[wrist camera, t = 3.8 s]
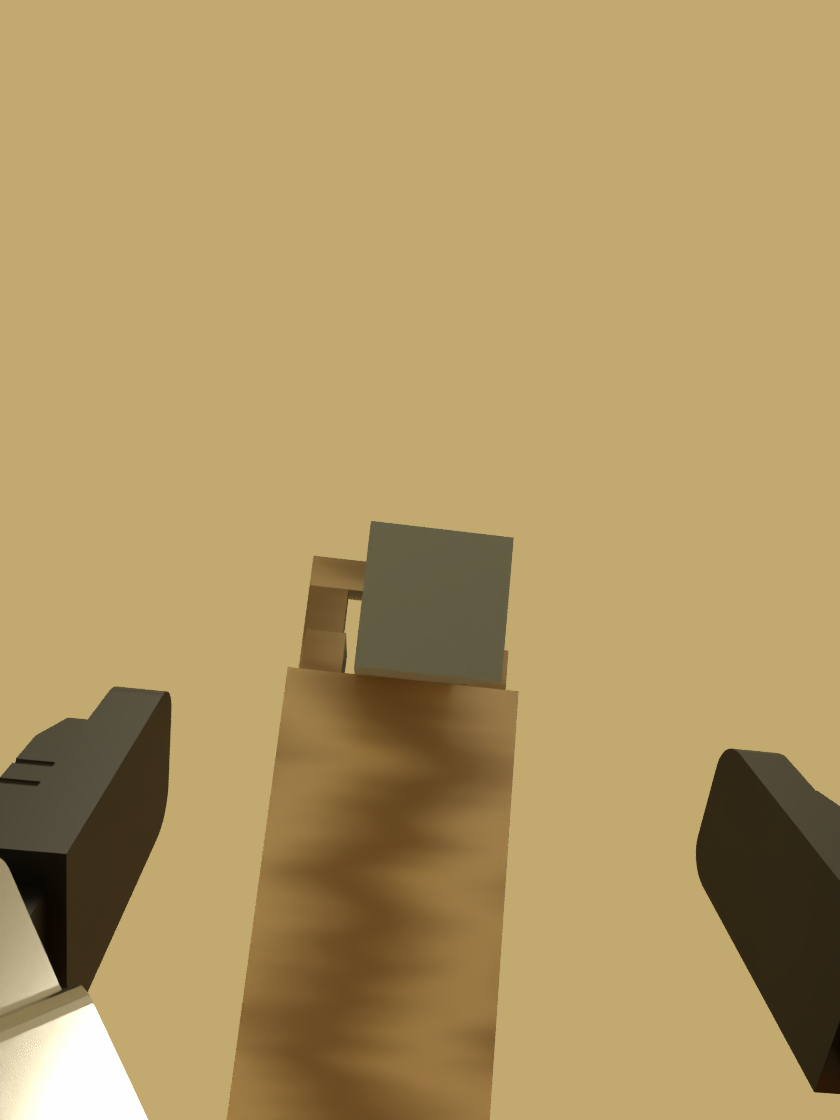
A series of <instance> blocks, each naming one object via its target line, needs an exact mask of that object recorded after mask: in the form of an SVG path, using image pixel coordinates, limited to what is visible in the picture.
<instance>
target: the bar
mask: <svg viewBox="0 0 840 1120" xmlns="http://www.w3.org/2000/svg"><path fill="white" fill-rule="evenodd" d="M512 550H513V538H511V537H503V536H494V535H486V534H476V533H468V532H459V531H451V530H443V529H434V528H426V527H417V526H409V525H400V524H392V523H383V522H375V521H371V526H370V535H369V544H368V552H367V561H366V569H365V578H364V587H363V595H362V604H361V614H360V621H359V630H358V639H357V647H356V656H355V666H354V670H355V674H357V675H367V676H376V677H386V678H395V679H405V680H415V681H424V682H434V683H443V684H453V685H455V684H472V683H489V682H501V681H502V669H503V657H504V645H505V633H506V622H507V609H508V598H509V586H510V585H509V584H510V574H511V562H512Z"/></svg>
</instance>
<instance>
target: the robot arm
mask: <svg viewBox="0 0 840 1120" xmlns="http://www.w3.org/2000/svg"><path fill="white" fill-rule="evenodd" d="M170 728H171V697H170V694H169V692H165V691H155V690H145V689H135V688H125V687H113V688H112V689H111V690H110V691H109V693H107V695H106V696H105V698H104V699H103V700H102V701H101V703H100V704H99V705H98V707H97V708H96V709H95V711H94V712H93V713H92V715H91V716H90V718H89V719H88V720H85V719H76V718H66V719H65V720H63V721H61V722H59V723H57V724H56V725H54V726H52V727H50V728H49V729H47V730H45V731H43V732H41V733H39V734H38V735H36V736H35V737H34V738H33V739H32V740H31V742H30V743H29V744H28V745H27V746H26V748H25V749H24V750H23V751H22V753H20V755H19V756H18V757H17V758H16V762H15V763H12V764H11V765H10V766H9V768H8V769H7V770H6V771H5V772H4V773H3V775H2V776H1V777H0V1120H148V1119H147V1117H146V1115H145V1113H144V1111H143V1109H142V1107H141V1105H140V1102H139V1100H138V1098H137V1096H136V1094H135V1092H134V1089H133V1087H132V1085H131V1083H130V1081H129V1079H128V1077H127V1075H126V1073H125V1070H124V1068H123V1066H122V1064H121V1062H120V1059H119V1057H118V1055H117V1053H116V1051H115V1049H114V1047H113V1044H112V1042H111V1040H110V1038H109V1036H108V1034H107V1032H106V1029H105V1027H104V1025H103V1023H102V1021H101V1019H100V1017H99V1015H98V1012H97V1010H96V1008H95V1006H94V1004H93V1002H92V1000H91V998H90V996H89V994H88V993H87V992H88V990H89V988H90V986H91V983H92V981H93V979H94V977H95V974H96V972H97V969H98V968H99V966H100V963H101V961H102V959H103V957H104V954H105V952H106V950H107V948H108V945H109V943H110V941H111V939H112V937H113V934H114V932H115V930H116V928H117V926H118V924H119V921H120V919H121V917H122V915H123V912H124V910H125V908H126V906H127V904H128V901H129V899H130V897H131V895H132V892H133V890H134V888H135V886H136V884H137V881H138V879H139V877H140V875H141V873H142V870H143V868H144V866H145V864H146V861H147V859H148V857H149V855H150V852H151V850H152V848H153V846H154V844H155V842H156V839H157V837H158V835H159V832H160V829H161V825H162V822H163V818H164V814H165V808H166V803H167V795H168V780H169V755H170V730H171V729H170ZM696 861H697V862H696V863H697V870H698V875H699V878H700V881H701V883H702V886H703V887H704V889H705V891H706V893H707V895H708V897H709V899H710V901H711V902H712V904H713V906H714V908H715V910H716V911H717V913H718V915H719V917H720V919H721V920H722V923H723V924H724V926H725V928H726V930H727V932H728V934H729V935H730V937H731V939H732V941H733V943H734V945H735V947H736V948H737V950H738V952H739V954H740V956H741V958H742V959H743V961H744V963H745V965H746V967H747V969H748V971H749V972H750V974H751V976H752V978H753V980H754V982H755V983H756V985H757V987H758V989H759V991H760V993H761V995H762V996H763V998H764V1000H765V1002H766V1004H767V1005H768V1008H769V1009H770V1011H771V1013H772V1015H773V1017H774V1019H775V1021H776V1022H777V1024H778V1026H779V1028H780V1030H781V1032H782V1033H783V1035H784V1037H785V1039H786V1041H787V1043H788V1045H789V1046H790V1048H791V1050H792V1052H793V1054H794V1055H795V1057H796V1059H797V1061H798V1063H799V1065H800V1066H801V1069H802V1070H803V1072H804V1074H805V1076H806V1078H807V1079H808V1081H809V1083H810V1085H811V1087H812V1089H813V1091H814V1092H819V1093H833V1094H840V806H839V805H837V804H836V803H834V802H833V801H831V800H830V799H828V798H827V797H826V796H824V795H823V794H821V793H820V792H818V791H815V789H814V788H813V787H812V786H811V785H810V784H809V783H808V782H807V781H806V779H805V778H804V777H803V776H802V775H801V774H800V773H799V771H798V770H797V769H796V768H795V767H794V766H793V765H792V764H791V762H789V760H788V759H787V758H786V757H785V756H784V755H781V754H779V753H769V752H760V751H750V750H739V749H728V750H726V751H725V752H724V753H723V754H722V755H721V757H720V759H719V761H718V764H717V768H716V771H715V775H714V779H713V782H712V786H711V790H710V794H709V797H708V801H707V805H706V809H705V813H704V816H703V820H702V823H701V827H700V831H699V835H698V839H697V845H696Z"/></svg>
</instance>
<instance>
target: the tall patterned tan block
mask: <svg viewBox="0 0 840 1120" xmlns="http://www.w3.org/2000/svg"><path fill="white" fill-rule="evenodd" d="M365 569H366V562H363V561H355V560H346V559H337V558H328V557H320V556H314V557H313V564H312V572H311V580H310V587H309V595H308V602H307V610H306V618H305V625H304V633H303V641H302V648H301V655H300V663H299V668H291V667H288V670H287V678H286V684H285V692H284V700H283V707H282V714H281V722H280V729H279V737H278V744H277V752H276V759H275V766H274V774H273V781H272V788H271V796H270V804H269V810H268V818H267V825H266V833H265V840H264V847H263V855H262V862H261V871H260V877H259V884H258V892H257V899H256V907H255V915H254V922H253V929H252V936H251V944H250V951H249V959H248V966H247V973H246V982H245V988H244V996H243V1003H242V1011H241V1018H240V1025H239V1033H238V1040H237V1048H236V1055H235V1062H234V1069H233V1078H232V1084H231V1092H230V1099H229V1107H228V1114H227V1120H489V1119H490V1104H491V1090H492V1076H493V1061H494V1046H495V1045H494V1044H495V1031H496V1016H497V1001H498V987H499V972H500V971H499V970H500V957H501V941H502V927H503V912H504V897H505V883H506V867H507V852H508V838H509V823H510V808H511V793H512V777H513V764H514V749H515V734H516V719H517V704H518V691H510V690H505V689H506V675H507V661H508V651H505V650H504V657H503V669H502V681H501V682H489V683H472V684H455V685H453V684H443V683H434V682H424V681H415V680H405V679H395V678H386V677H376V676H367V675H357V674H347V673H345V666H346V658H347V651H346V650H347V649H346V633H344V630H345V621H346V613H347V605H348V599H353V600H362V595H363V587H364V578H365Z"/></svg>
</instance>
